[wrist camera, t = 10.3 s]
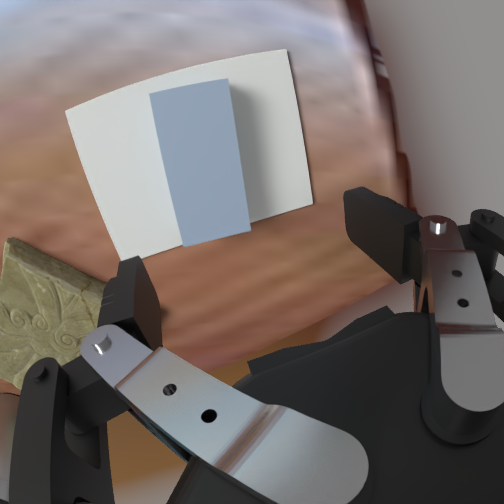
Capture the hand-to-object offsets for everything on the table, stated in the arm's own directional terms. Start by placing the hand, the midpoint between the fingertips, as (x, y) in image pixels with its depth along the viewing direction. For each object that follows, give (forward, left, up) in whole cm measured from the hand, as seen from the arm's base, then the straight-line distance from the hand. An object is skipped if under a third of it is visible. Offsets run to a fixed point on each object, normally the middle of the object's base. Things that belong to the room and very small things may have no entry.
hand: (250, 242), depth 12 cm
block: (0, 0, -17) cm, 17 cm away
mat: (0, 0, -17) cm, 17 cm away
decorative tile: (-22, -13, -18) cm, 31 cm away
